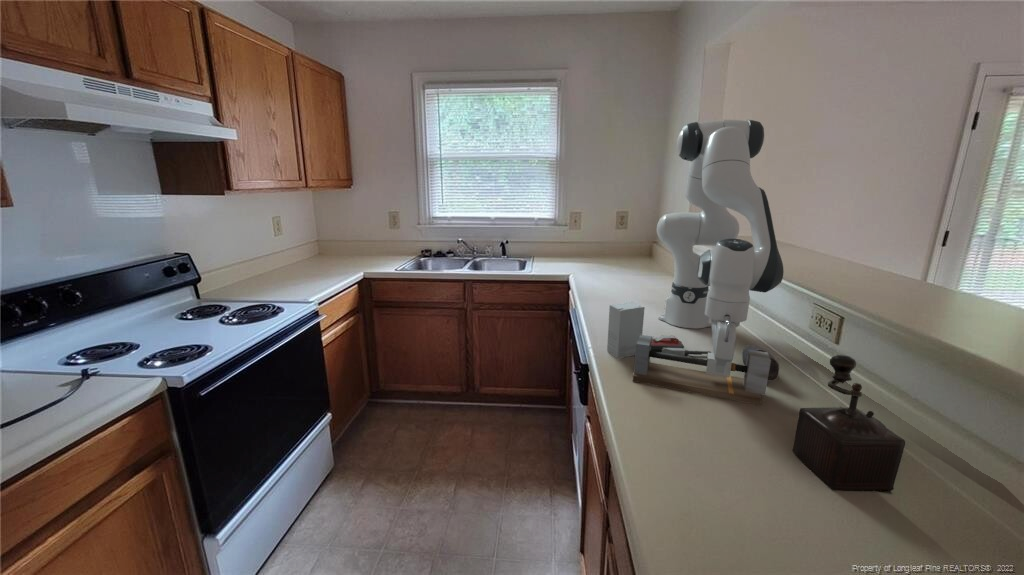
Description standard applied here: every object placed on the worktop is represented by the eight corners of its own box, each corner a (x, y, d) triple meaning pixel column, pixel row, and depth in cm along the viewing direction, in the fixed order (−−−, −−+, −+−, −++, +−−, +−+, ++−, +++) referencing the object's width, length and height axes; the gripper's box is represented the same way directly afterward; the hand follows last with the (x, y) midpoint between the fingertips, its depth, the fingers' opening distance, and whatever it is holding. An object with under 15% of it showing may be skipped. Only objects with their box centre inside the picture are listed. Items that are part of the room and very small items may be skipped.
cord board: (637, 365, 113) (640, 331, 110) (759, 386, 101) (766, 348, 99) (632, 381, 104) (635, 343, 101) (765, 406, 92) (772, 364, 90)
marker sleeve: (705, 367, 103) (707, 352, 102) (728, 370, 101) (730, 355, 100) (706, 373, 99) (708, 358, 98) (729, 377, 97) (731, 362, 96)
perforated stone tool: (734, 360, 117) (738, 337, 115) (754, 361, 116) (758, 338, 114) (755, 384, 103) (760, 358, 101) (778, 386, 102) (783, 360, 100)
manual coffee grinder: (899, 492, 67) (928, 391, 62) (831, 491, 67) (854, 391, 62) (828, 435, 82) (847, 351, 77) (773, 435, 82) (788, 350, 77)
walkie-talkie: (642, 357, 119) (712, 359, 118) (643, 342, 118) (714, 344, 117) (634, 345, 128) (700, 347, 127) (635, 332, 127) (702, 333, 126)
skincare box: (629, 347, 125) (633, 300, 121) (641, 355, 119) (646, 306, 116) (605, 351, 122) (608, 303, 118) (617, 359, 117) (620, 309, 113)
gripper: (746, 325, 85) (736, 385, 89) (737, 300, 104) (730, 351, 107) (712, 320, 88) (704, 380, 91) (710, 297, 106) (703, 347, 109)
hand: (718, 364), depth 99 cm, fingers open, 7 cm apart
